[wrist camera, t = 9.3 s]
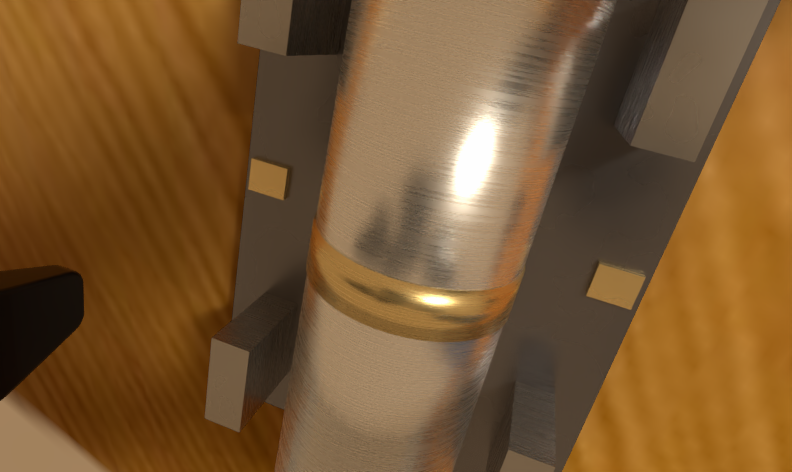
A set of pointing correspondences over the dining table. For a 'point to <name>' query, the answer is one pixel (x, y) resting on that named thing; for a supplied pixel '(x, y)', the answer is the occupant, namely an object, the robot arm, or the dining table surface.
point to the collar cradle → (556, 234)
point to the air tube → (427, 220)
